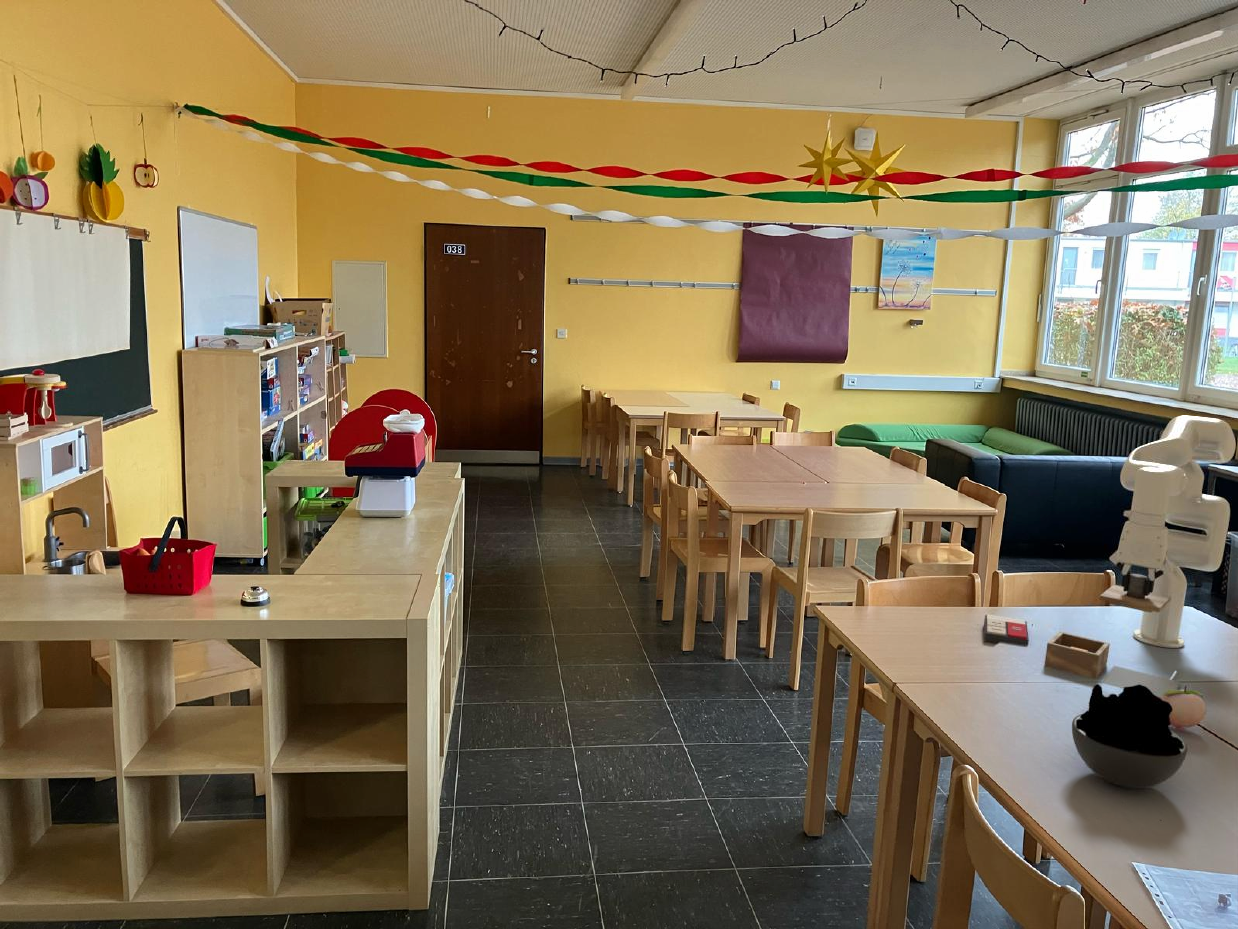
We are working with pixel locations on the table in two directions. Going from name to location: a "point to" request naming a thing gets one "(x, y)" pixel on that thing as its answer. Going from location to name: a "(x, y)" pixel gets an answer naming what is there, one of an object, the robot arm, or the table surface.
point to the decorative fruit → (1185, 707)
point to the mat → (1139, 680)
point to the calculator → (1005, 630)
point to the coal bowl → (1129, 738)
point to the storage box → (1077, 654)
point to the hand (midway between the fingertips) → (1136, 591)
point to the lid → (1135, 596)
